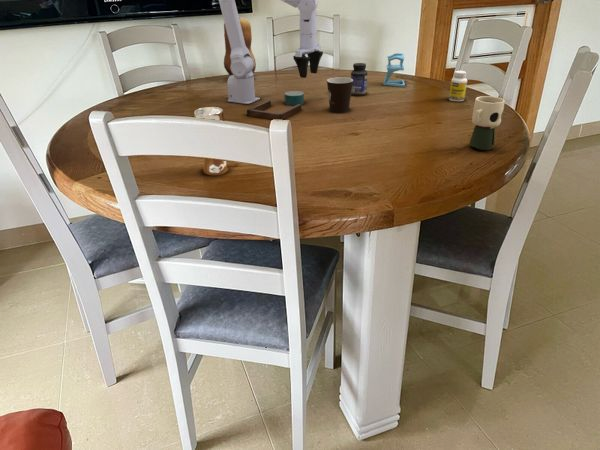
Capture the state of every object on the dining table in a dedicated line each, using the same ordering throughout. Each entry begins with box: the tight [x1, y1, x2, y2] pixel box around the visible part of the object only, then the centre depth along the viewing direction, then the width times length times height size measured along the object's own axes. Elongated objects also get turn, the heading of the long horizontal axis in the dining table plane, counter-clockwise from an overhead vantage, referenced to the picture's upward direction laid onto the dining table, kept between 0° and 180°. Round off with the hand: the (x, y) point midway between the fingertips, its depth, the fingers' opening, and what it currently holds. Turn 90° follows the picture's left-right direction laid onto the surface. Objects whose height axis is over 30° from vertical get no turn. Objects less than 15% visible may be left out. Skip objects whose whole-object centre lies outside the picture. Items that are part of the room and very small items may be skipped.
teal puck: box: [284, 90, 305, 107], centre depth 165 cm, size 7×7×4 cm
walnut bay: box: [246, 99, 302, 121], centre depth 155 cm, size 13×13×2 cm
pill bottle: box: [350, 62, 368, 97], centre depth 172 cm, size 6×6×11 cm
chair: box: [382, 52, 406, 88], centre depth 184 cm, size 8×8×12 cm
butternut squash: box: [223, 16, 257, 77], centre depth 194 cm, size 14×13×25 cm
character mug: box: [468, 95, 506, 151], centre depth 120 cm, size 11×7×13 cm, turn 130°
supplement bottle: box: [448, 70, 468, 103], centre depth 163 cm, size 5×5×10 cm
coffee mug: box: [326, 76, 353, 114], centre depth 156 cm, size 12×9×10 cm
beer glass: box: [194, 106, 229, 176], centre depth 110 cm, size 7×7×15 cm
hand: (308, 75), depth 161 cm, fingers open, 7 cm apart
